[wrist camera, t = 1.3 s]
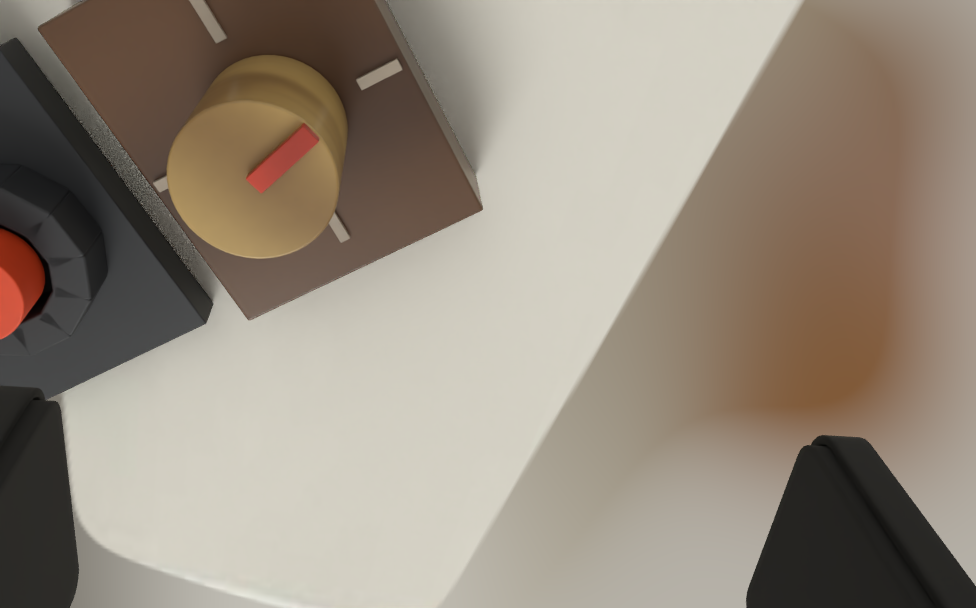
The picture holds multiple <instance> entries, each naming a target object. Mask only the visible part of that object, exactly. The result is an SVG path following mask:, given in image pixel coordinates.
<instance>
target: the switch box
mask: <svg viewBox="0 0 976 608" xmlns="http://www.w3.org/2000/svg"><path fill="white" fill-rule="evenodd" d="M0 228H1V229H5V230H7V231H9V232H12V233H13V234H15V235H17V236H19V237H20V238H21V239H23V240H24V241H25V242H27V243H28V244H29V245H30V246H31V247H32V248H33V249H34V251H35V252H36V253H37V255H38V257H39V258H40V260H41V262H42V265H43V268H44V272H45V285H44V289H43V292H42V294H41V296H40V297H39V299H38V300H37V302H36V303H35V304H34V306H33V307H32V308H31V310H30V311H29V312H28V314H27V315H26V317H25V318H24V319H23V321H22V322H21V323H20V325H19V326H18V327H17V328H16V329H15V331H14V332H12V333H11V334H10V335H8V336H6V337H5V338H2V339H0V386H17V387H33V388H39V389H41V390H42V392H43V393H44V396H45V400H47V399H49V398H51V397H53V396H55V395H57V394H59V393H62V392H64V391H66V390H68V389H70V388H72V387H74V386H76V385H78V384H80V383H82V382H85V381H87V380H89V379H91V378H93V377H95V376H97V375H99V374H101V373H103V372H106V371H108V370H110V369H112V368H114V367H116V366H118V365H120V364H122V363H124V362H127V361H129V360H131V359H133V358H135V357H137V356H139V355H141V354H143V353H145V352H148V351H150V350H152V349H154V348H156V347H158V346H160V345H162V344H164V343H166V342H168V341H171V340H173V339H175V338H177V337H179V336H181V335H183V334H185V333H187V332H189V331H192V330H194V329H196V328H198V327H200V326H202V325H204V324H206V323H207V320H208V317H209V314H210V312H211V309H212V306H213V303H212V301H211V300H210V299H209V297H208V296H207V295H206V293H205V292H204V290H203V289H202V288H201V286H200V285H199V284H198V282H197V281H196V280H195V278H194V277H193V276H192V274H191V273H190V272H189V270H188V269H187V267H186V266H185V265H184V263H183V262H182V261H181V259H180V258H179V257H178V255H177V254H176V253H175V251H174V250H173V249H172V247H171V246H170V245H169V243H168V242H167V240H166V239H165V238H164V236H163V235H162V234H161V232H160V231H159V230H158V228H157V227H156V226H155V224H154V223H153V222H152V220H151V219H150V217H149V216H148V215H147V213H146V212H145V211H144V209H143V208H142V207H141V205H140V204H139V203H138V201H137V200H136V199H135V197H134V196H133V195H132V193H131V192H130V190H129V189H128V188H127V186H126V185H125V184H124V182H123V181H122V180H121V178H120V177H119V176H118V174H117V173H116V172H115V170H114V169H113V167H112V166H111V165H110V163H109V162H108V161H107V159H106V158H105V157H104V155H103V154H102V153H101V151H100V150H99V149H98V147H97V146H96V145H95V143H94V142H93V140H92V139H91V138H90V136H89V135H88V134H87V132H86V131H85V130H84V128H83V127H82V126H81V124H80V123H79V122H78V120H77V119H76V117H75V116H74V115H73V113H72V112H71V111H70V109H69V108H68V107H67V105H66V104H65V103H64V101H63V100H62V99H61V97H60V96H59V95H58V93H57V92H56V90H55V89H54V88H53V86H52V85H51V84H50V82H49V81H48V80H47V78H46V77H45V76H44V74H43V73H42V72H41V70H40V69H39V67H38V66H37V65H36V63H35V62H34V61H33V59H32V58H31V57H30V55H29V54H28V53H27V51H26V50H25V49H24V47H23V46H22V44H21V43H20V42H19V40H18V39H17V38H13V39H11V40H10V41H8V42H6V43H4V44H2V45H0Z"/></svg>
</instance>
